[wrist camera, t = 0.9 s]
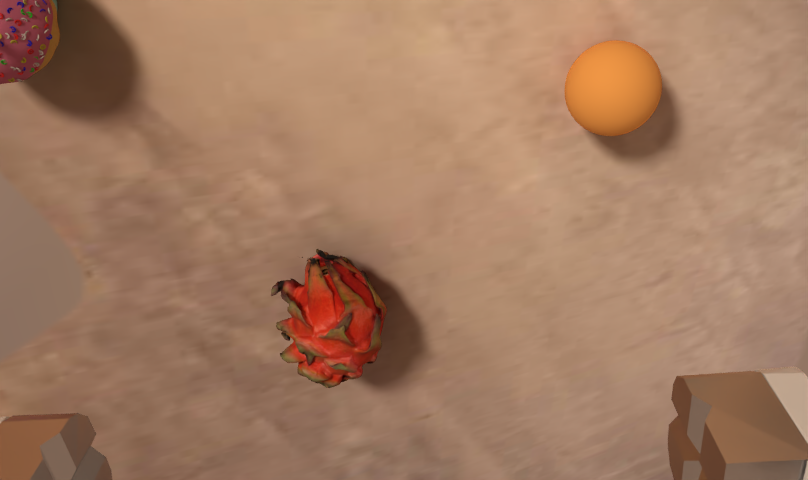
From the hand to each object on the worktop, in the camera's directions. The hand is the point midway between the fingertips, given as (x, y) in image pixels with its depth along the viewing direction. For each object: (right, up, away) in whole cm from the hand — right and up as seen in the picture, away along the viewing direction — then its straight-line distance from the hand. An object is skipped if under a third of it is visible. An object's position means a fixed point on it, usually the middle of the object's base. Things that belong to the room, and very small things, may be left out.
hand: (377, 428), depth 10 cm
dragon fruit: (-5, -1, +48) cm, 48 cm away
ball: (+14, +12, +35) cm, 40 cm away
